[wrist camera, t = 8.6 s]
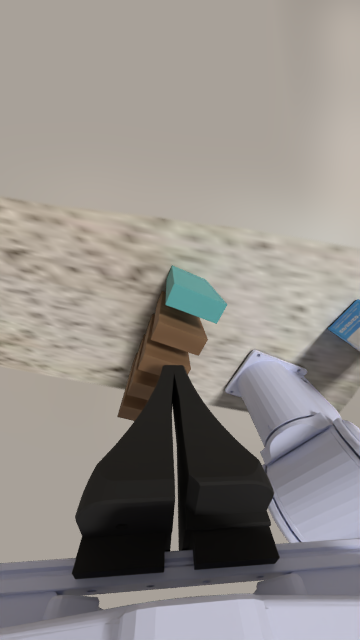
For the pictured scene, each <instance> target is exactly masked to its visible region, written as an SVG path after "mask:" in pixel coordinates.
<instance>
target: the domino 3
mask: <svg viewBox="0 0 360 640" xmlns="http://www.w3.org/2000/svg"><path fill="white" fill-rule="evenodd" d="M154 318H155V314H152V317H151V319H150V322H149V324H148V328H147V332H146V336H145V341H144V345H143V349H142V353H141V358H140V362H139V366H138V370H142V371H145V372H148V373H152V374H155V375H159V376H160V374H161V371H162V366H164V365H183V366H184V367H185V370H186V372H187V375H188V373H189V371H190V369H191V367H190V361H189V355H188V352H186V351H183V350H180V349H177V348H174V347H171V346H168V345H165V344H162V343H159V342H156V341H153V340H151V336H152V330H153V324H154Z"/></svg>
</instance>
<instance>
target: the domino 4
mask: <svg viewBox="0 0 360 640" xmlns="http://www.w3.org/2000/svg"><path fill="white" fill-rule="evenodd" d="M165 304H166V292H164V291H162V292H161V295H160V297H159V300H158V302H157V306H156V312H155V318H154V324H153V330H152V336H151V340H153V341H156V342H159V343H162V344H165V345H168V346H171V347H174V348H177V349H180V350H183V351H186V352H189V353H192V354H195V355H198V356H199V354H200V352H201V351H202V349H203V347H204V345H205V344H206V342H207V340H208V339H207V336H206V334H205V331H204V328H203V326H202V323H201V321H200V318H199V317H197V316H194V315H192V314H189V313H186V312H184V311H181V310H178V309H176V308H173V307H170V306H167V305H165Z"/></svg>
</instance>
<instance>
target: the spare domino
mask: <svg viewBox="0 0 360 640" xmlns="http://www.w3.org/2000/svg"><path fill="white" fill-rule="evenodd" d="M165 305H167V306H170V307H173V308H176V309H178V310H181V311H184V312H186V313H189V314H192V315H194V316H197V317H200V318H203V319H205V320H208V321H211V322H213V323H216V324H217V322H218V320H219V319H220V317H221V315H222V313H223V311H224V310H225V308H226V306H227V304H226V303H225V301H224V300H223V299H222V298H221V297H220V296H219V294H218V293H217V292H216V291H215V290H214V289H213V288H212V286H211V285H210V284H209V283H208V282H207V281H206V280H205V279H203V278H200V277H198V276H196V275H193V274H191V273H189V272H186V271H184V270H182V269H179V268H177V267H174V266H172V267H171V270H170V272H169V275H168V277H167V283H166V304H165Z"/></svg>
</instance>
